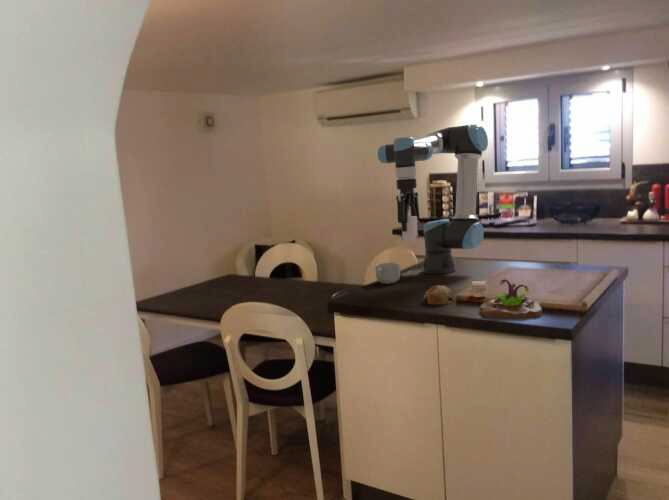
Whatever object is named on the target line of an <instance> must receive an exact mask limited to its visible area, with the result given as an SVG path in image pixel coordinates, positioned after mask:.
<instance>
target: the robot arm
mask: <svg viewBox="0 0 669 500" xmlns="http://www.w3.org/2000/svg"><path fill="white" fill-rule="evenodd" d="M488 138H489V137H488V134H487V131H486V129H485V128H484V127H483V126H482V125H481V124H471V123H470V124H468V125H467V124H465V125H458V126H450V127H445V128H442V129H440V130H439V129H438V130H437V131H433V132H429V133H428V134H427V135H425V136H422V137H418V138H414V137H412V136H405V137H396V138H395V139H394V140H393V143H390V144H382V145H380V146H379V148H377V149H378V150H377V158H378V159H377V160H378V161H379V162H380V163H381V164H387V165H389V164H395V166H394V167H395V177H396V190H399V192H400V193H399V195H396V203H397V205H396V206H397V208H396V209H397V222H398V223H399V224H400V225H401V234H402V236H401V237H402V240H403V241H405V240H410V235H409V223H407V219H408V215H409V206H410V209H411V216H417V220H416V238H418V237H419V234H418V233H419V232H418V220H420V208H419V198H418V197H419V193H418V192H415V191H414V189H416V188H417V186H418V185H417V178H416V177H417V171H416V162H424V161H428V160H429V159H431V158H432V156H433V155H438V154H454V157H455V158H456V160H457V170H456V171H457V172H456V173H457V174H456V176H457V177H456V191H455V192H456V193H455V194H456V197H455V214H454V215H453V216H452V217H451V221H450V218H444V219H438V220H433V221H427V222H426V223H424V225H423V235H424V239H423V240H424V253H425V254H424V255H425V256H424V260H423V264H422V273H424V274H430V275H431V274H432V275H442V274H443V275H444V274H450V273H454V272H456V271H457V264H456V261H455V259H454V257H453V254H452V250H453V249H454V250H466V251H468V250H475V249H478V248H479V247H480V245H481V244H482V242H483V241H484V240H483V239H484V233H485V232H484V231H485V228H484V226H483V224H482V223H481V222H479V221H480V218H479V217H478V216H477V215H476V212H477V211H476V210H477V209H476V208H477V187H478V170H479V167H478V165H479V160H480V159H481V158H482V157H483V152H484V151H486V150H487V148H488V145H489V140H488Z"/></svg>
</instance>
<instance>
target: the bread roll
mask: <svg viewBox="0 0 669 500" xmlns="http://www.w3.org/2000/svg"><path fill="white" fill-rule="evenodd" d="M424 293H425V294H424V295H423V300H424V302H425V303H426V304H428V305H433V306H443V305H450V304H451V303H452V302H453V300H454V294H453V292H452V290H451V289H450V287H447V286H446V285H440V284H438V285H434V286H431V287H430V288H429V289H427V290H426V292H424Z"/></svg>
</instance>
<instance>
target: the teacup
mask: <svg viewBox="0 0 669 500" xmlns="http://www.w3.org/2000/svg"><path fill="white" fill-rule="evenodd" d="M374 267H375V278H376V280H377V281H378V282H380V283H381V284H385V285H388V284H389V285H390V284H391V283H392V284H395V283H397V281H399V280H400V279H401V278H400V277H401V264H400V263H396V262H379V263H376V264H375V265H374Z"/></svg>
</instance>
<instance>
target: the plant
mask: <svg viewBox="0 0 669 500" xmlns="http://www.w3.org/2000/svg"><path fill="white" fill-rule="evenodd" d="M505 282H506V283H507V287H508V292H507V293H506V292H503V291H502V292H501V294H499V293H495V296H496V297H497V298H493V299H489V300H486V301H484V302H483V303H481V304H480V306H479V312H480V314H482V315H483V318H488V319H506V320H507V319H509V320H510V319H511V320H527V319H529V318H535V319H536V318H540V317H542V315H543V309H542V302H540V301H539V300H537V299H533V298H528V297H527V296H526V295H527V293H523V294H520V295H519V293H518V290H519V289H520V288H523V287H524V290H525V291H526V292H529V291H530V288H529V287H528V285H525V284H518V285H516V283H513V282H512V283H511V282H510V281H509V280H508V279H506V278H505V279H504V278H503V279H500V281H499V285H504V284H505Z"/></svg>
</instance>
